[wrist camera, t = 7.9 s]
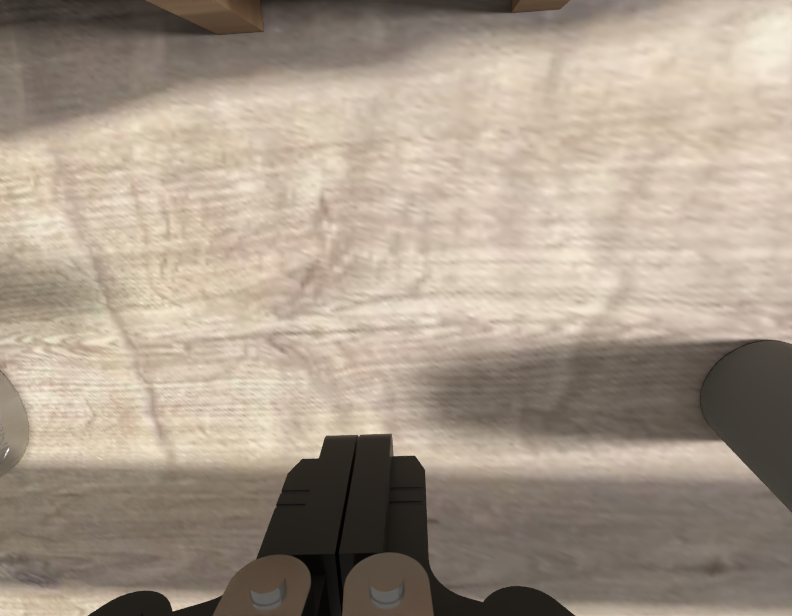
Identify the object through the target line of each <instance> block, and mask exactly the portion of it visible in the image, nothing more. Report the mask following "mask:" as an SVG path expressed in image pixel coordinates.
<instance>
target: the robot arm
mask: <svg viewBox="0 0 792 616" xmlns="http://www.w3.org/2000/svg"><path fill="white" fill-rule="evenodd" d="M28 441H29V422H28V417H27V413H26V409H25V407H24V405H23V403H22V400H21V398H20V396H19V394H18V393H17V391H16V390H15V388H14V387H13V385H12V384H11V382H10V381H9V380H8V379H7V378H6V377H5V376H4V375H3V374H2V373H1V372H0V478H1V477H2V476H3V475H4V474H5V473H7V472H8V471H9V470H10V469H11V468H13V467H14V466H15V465H16V464H17V463H18V462H19V461H20V459H21V458H22V456H23V455H24V453H25V451H26V447H27V444H28ZM276 505H277V507H276V508H275V510H274V513H273V515H272V518H271V521H270V523H269V526H268V529H267V532H266V534H265V537H264V540H263V542H262V545H261V548H260V551H259V553H258V556H257V559H256V560H254V561H253V562H251V563H249V564H247V565H246V566H244V567H243V568H242V569H240V570H239V571H238V572H237V573H236V574H235V575H234V577H233V578H232V579H231V581H230V582H229V584H228V586H227V588H226V590H225V592H224V594H223V595H222V596H220V597H218V598H216V599H213V600H210V601H207V602H204V603H201V604H197V605H194V606H190V607H187V608H184V609H180V610H177V611H173V612H172V608H171V605H170V602H169V601H168V599H167V598H166V597H165V596H164V595H162V594H160V593H158V592H154V591H137V592H133V593H128V594H126V595H123V596H120V597H118V598H116V599H114V600H112V601H110V602H108V603H107V604H105V605H103V606H102V607H100V608H99V609H97V610H96V611H94V612H93V613H91V614H90V615H88V616H575V615H574V614H572V613H571V612H570V611H569V610H567V609H566V608H565V607H564V606H562V605H561V604H560V603H559V602H557V601H556V600H555V599H553V598H552V597H550V596H549V595H547V594H545V593H543V592H541V591H539V590H536V589H533V588H529V587H522V586H511V587H506V588H502V589H499V590H497V591H495V592H493V593H492V594H490V595H489V596H488V597H487V598H486V599H485V600H484V602H480V601H476V600H473V599H469V598H466V597H463V596H460V595H457V594H455V593H454V592H452V591H450V590H448V589H447V588H446V587H444V586H443V585H442V584H441V583H440V582H439V581H438V580H437V579H436V577H435V576H434V574H433V572H432V571H431V568H430V565H429V559H428V535H427V510H426V485H425V469H424V468H423V467H422V465H421V464H420V462H419V461H418V459H417V458H416V457H415V456H393V441H392V434H370V435H360V436H359V437H358V435H340V436H326V437H325V439H324V443H323V446H322V450H321V453H320V456H319V459H302V460H301V461H300V462H299V463H298V464H297V465H296V466H295V467H294V468H293V469H292V470H291V471H290V472H289V473H288V475H287V477H286V480H285V483H284V485H283V488H282V494H280V496H279V499H278V502H277V504H276Z"/></svg>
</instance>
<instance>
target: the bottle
mask: <svg viewBox="0 0 792 616" xmlns="http://www.w3.org/2000/svg"><path fill="white" fill-rule="evenodd" d="M701 409H702V413H703V416H704V418H705V419H706V421H707V423H708V424H709V425H710V426H711V428H712V429H713V430H714V431H715V432H716V433H717V435H718V436H719V437H720V438H721V439H722V440H723V441H724V442H725V443H726V444H727V445H728V446H729V447H730V449H731V450H732V451H733V452H734V453H735V454H736V455H737V456H738V457H739V458H740V459H741V460H742V461H743V462H744V463H745V464H746V465H747V466H748V467H749V468H750V469H751V470H752V472H753V473H754V474H755V475H756V476H757V477H758V478H759V479H760V480H761V481H762V482H763V483H764V484H765V485H766V486H767V487H768V488H769V489H770V490H771V491H772V492H773V493H774V494H775V495H776V497H777V498H778V499H779V500H780V501H781V502H782V503H783V504H784V505H785V506H786V507H787V508H788V509H789V510H790V511H791V512H792V344H789V343H786V342H782V341H761V342H755V343H751V344H748V345H745V346H742V347H740V348H738V349H736V350H734V351H733V352H731V353H729V354H727V355H726V356H725V357H724V358H722V359H721V360H720V361H719V362H718V363H717V364H716V365H715V366H714V368H713V369H712V370H711V371H710V373H709V374H708V376H707V378H706V380H705V382H704V385H703V387H702V390H701Z"/></svg>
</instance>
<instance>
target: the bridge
mask: <svg viewBox="0 0 792 616" xmlns="http://www.w3.org/2000/svg"><path fill="white" fill-rule="evenodd" d="M145 1H148V2H150V3H152V4H154V5H156V6H158V7H160V8H163V9H165V10H167V11H169V12H171V13H173V14H175V15H178V16H180V17H182V18H184V19H186V20H188V21H190V22H193V23H195V24H197V25H199V26H201V27H203V28H205V29H207V30H210V31H212V32H214V33H216V34H218V35H223V34H236V33H249V32H263V31H264V27H263V19H262V11H261V3H260V0H145ZM569 1H570V0H512V3H511V13H515V12H529V11H542V10H555V9H561V8H562V7H563V6H564V5H565V4H567V3H568V2H569Z"/></svg>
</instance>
